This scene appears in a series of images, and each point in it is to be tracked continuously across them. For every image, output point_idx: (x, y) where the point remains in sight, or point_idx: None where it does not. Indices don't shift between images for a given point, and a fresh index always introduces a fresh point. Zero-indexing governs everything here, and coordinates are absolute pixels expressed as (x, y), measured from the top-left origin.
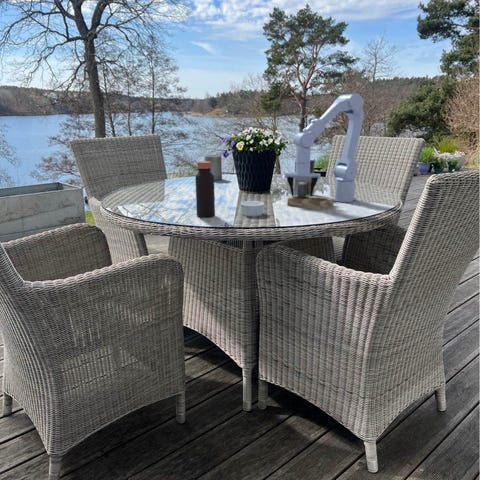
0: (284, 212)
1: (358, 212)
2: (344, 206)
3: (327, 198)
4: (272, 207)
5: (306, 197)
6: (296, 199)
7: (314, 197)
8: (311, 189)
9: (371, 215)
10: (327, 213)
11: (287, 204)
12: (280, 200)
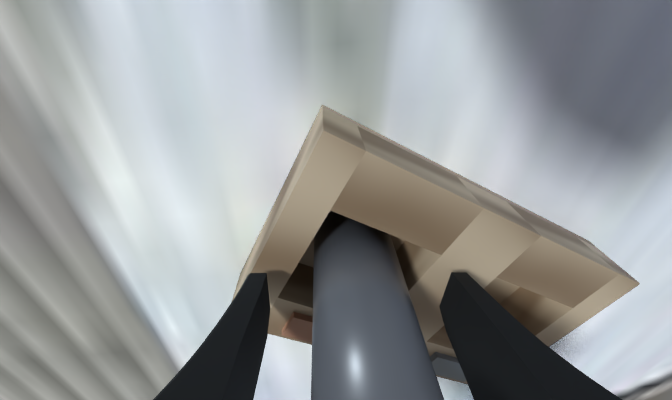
0: (255, 394)
1: (625, 357)
2: (654, 255)
3: (584, 292)
4: (152, 328)
5: (409, 238)
6: (308, 342)
7: (482, 269)
8: (476, 387)
9: (642, 385)
10: (463, 384)
11: (239, 279)
12: (101, 62)
